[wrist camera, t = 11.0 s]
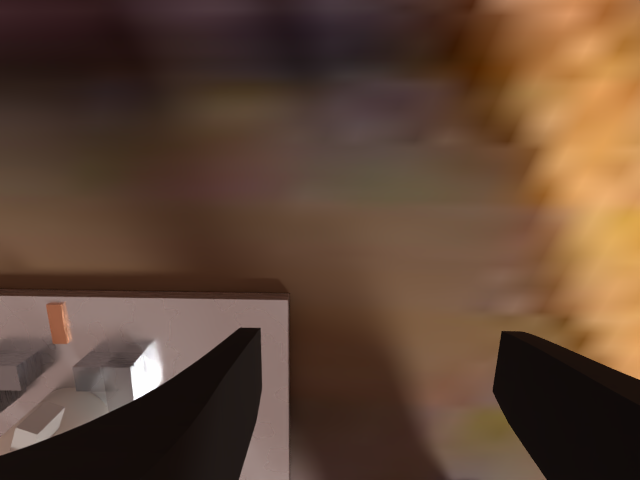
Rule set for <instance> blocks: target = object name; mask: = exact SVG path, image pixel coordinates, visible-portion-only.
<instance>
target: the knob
mask: <svg viewBox="0 0 640 480" xmlns="http://www.w3.org/2000/svg"><path fill="white" fill-rule="evenodd" d="M107 413H109V412H108V407H107V406H106V404H105V403H104V402H103V401H102V400H101V399H100V398H99V397H97V396H96V395H94V394H93V393H91V392H88V391H76V388H61V389H58V390H55V391H53V392H52V393H50V394H49V395H47V396H46V397H45V398H44V399H43V400H42V401H41V402H40V403H38V404H37V405H36V406H35V407H34V408H33V409H32V410H30V411H29V412H28V413H27V414H26V415H25V416H24V417H22V418H21V419H20V420H19V421H18V422H17V423H16V424H15V425H13V426H12V427H11V428H10V429H9V430H8V431H7V432H5V433H4V434H3V435H2V436H1V437H0V455H4V454H7V453H10V452H13V451H16V450H19V449H21V448H24V447H27V446H30V445H33V444H35V443H38V442H40V441H43V440H46V439H48V438H51V437H53V436H56V435H59V434H61V433H64V432H66V431H69V430H71V429H73V428H76V427H78V426H81V425H83V424H85V423H88V422H90V421H92V420H94V419H96V418H98V417H100V416H102V415H105V414H107Z"/></svg>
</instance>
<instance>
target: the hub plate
mask: <svg viewBox="0 0 640 480" xmlns="http://www.w3.org/2000/svg"><path fill="white" fill-rule="evenodd" d="M240 327H242V328H261V359H262V392H261V398H260V404H259V410H258V416H257V421H256V424H255V428H254V431H253V434H252V438H251V441H250V445H249V448H248V451H247V455H246V458H245V461H244V464H243V468H242V471H241V474H240V478H239V480H290V293H233V292H167V291H100V290H34V289H0V437H1V436H2V435H3V434H4V433H5V432H7V431H8V430H9V429H10V428H11V427H12V426H13V425H15V424H16V423H17V422H18V421H19V420H20V419H21V418H22V417H24V416H25V415H26V414H27V413H28V412H29V411H30V410H32V409H33V408H34V407H35V406H36V405H37V404H38V403H40V402H41V401H42V400H43V399H44V398H45V397H46V396H47V395H49V394H50V393H52V392H53V391H55V390H58V389H61V388H76V391H88V392H91V393H93V394H94V395H96V396H97V397H99V398H100V399H101V400H102V401H103V402H104V403H105V404H106V406H107V407H108V412H111V411H113V410H115V409H117V408H119V407H121V406H123V405H125V404H128V403H130V402H132V401H133V400H135V399H137V398H139V397H141V396H143V395H144V394H146V393H148V392H150V391H151V390H153V389H155V388H157V387H158V386H160V385H162V384H163V383H165V382H167V381H168V380H170V379H171V378H173V377H174V376H176V375H177V374H179V373H180V372H182V371H183V370H184V369H186V368H187V367H189V366H190V365H192V364H193V363H195V362H196V361H197V360H199V359H200V358H202V357H203V356H204V355H206V354H207V353H208V352H209V351H211V350H212V349H213V348H215V347H216V346H217V345H218V344H220V343H221V342H222V341H223V340H225V339H226V338H227V337H228V336H230V335H231V334H232V333H233V332H235V331H236V330H237V329H239V328H240Z"/></svg>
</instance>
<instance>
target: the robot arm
mask: <svg viewBox="0 0 640 480" xmlns="http://www.w3.org/2000/svg"><path fill="white" fill-rule="evenodd" d="M261 392H262V359H261V328H242V327H240V328H239V329H237V330H236V331H235V332H233V333H232V334H231V335H230V336H228V337H227V338H226V339H225V340H223V341H222V342H221V343H220V344H218V345H217V346H216V347H215V348H213V349H212V350H211V351H209V352H208V353H207V354H206V355H204V356H203V357H202V358H200V359H199V360H197V361H196V362H195V363H193V364H192V365H190V366H189V367H187V368H186V369H184V370H183V371H182V372H180V373H179V374H177V375H176V376H174V377H173V378H171V379H170V380H168V381H167V382H165V383H163V384H162V385H160V386H158V387H157V388H155V389H153V390H151V391H150V392H148V393H146V394H144V395H143V396H141V397H139V398H137V399H135V400H133V401H132V402H130V403H128V404H125V405H123V406H121V407H119V408H117V409H115V410H113V411H111V412H109V413H107V414H105V415H102V416H100V417H98V418H96V419H94V420H92V421H90V422H88V423H85V424H83V425H81V426H78V427H76V428H73V429H71V430H69V431H66V432H64V433H61V434H59V435H56V436H53V437H51V438H48V439H46V440H43V441H40V442H38V443H35V444H33V445H30V446H27V447H24V448H21V449H19V450H16V451H13V452H10V453H7V454H4V455H0V480H239V478H240V474H241V471H242V468H243V464H244V461H245V458H246V455H247V451H248V448H249V445H250V441H251V438H252V434H253V431H254V428H255V424H256V421H257V416H258V410H259V404H260V398H261ZM493 393H494V395H495V397H496V399H497V401H498V403H499V406H500V408H501V410H502V411H503V413H504V415H505V417H506V419H507V421H508V423H509V424H510V426H511V428H512V429H513V431H514V432H515V434H516V435H517V437H518V438H519V440H520V441H521V443H522V444H523V445H524V447H525V448H526V450H527V451H528V453H529V454H530V456H531V457H532V459H533V460H534V462H535V463H536V464H537V466H538V467H539V469H540V470H541V472H542V473H543V475H544V476H545V478H546V479H547V480H640V380H639V379H636V378H634V377H631V376H629V375H626V374H624V373H621V372H619V371H617V370H614V369H612V368H609V367H607V366H605V365H603V364H600V363H598V362H596V361H593V360H591V359H589V358H586V357H584V356H582V355H580V354H577V353H575V352H573V351H571V350H568V349H566V348H564V347H561V346H559V345H557V344H554V343H552V342H550V341H547V340H545V339H542V338H540V337H537V336H535V335H532V334H529V333H525V332H519V331H502V333H501V339H500V346H499V352H498V359H497V365H496V372H495V378H494V385H493Z"/></svg>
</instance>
